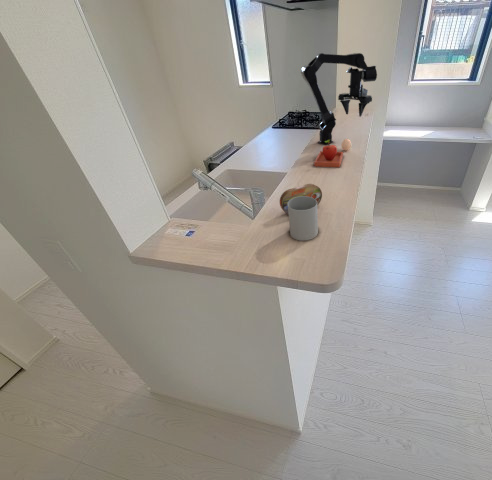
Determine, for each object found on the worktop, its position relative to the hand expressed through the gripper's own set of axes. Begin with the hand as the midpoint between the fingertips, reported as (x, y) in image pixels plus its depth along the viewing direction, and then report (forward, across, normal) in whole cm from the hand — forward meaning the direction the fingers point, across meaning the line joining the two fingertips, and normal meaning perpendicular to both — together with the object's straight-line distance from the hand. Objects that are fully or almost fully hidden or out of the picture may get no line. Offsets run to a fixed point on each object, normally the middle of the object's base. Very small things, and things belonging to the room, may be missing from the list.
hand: (353, 115), depth 147 cm
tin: (+13, -39, +74) cm, 85 cm away
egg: (+13, -10, +17) cm, 24 cm away
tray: (+13, -14, +34) cm, 39 cm away
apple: (+13, -14, +34) cm, 39 cm away
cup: (+13, -50, +83) cm, 98 cm away
